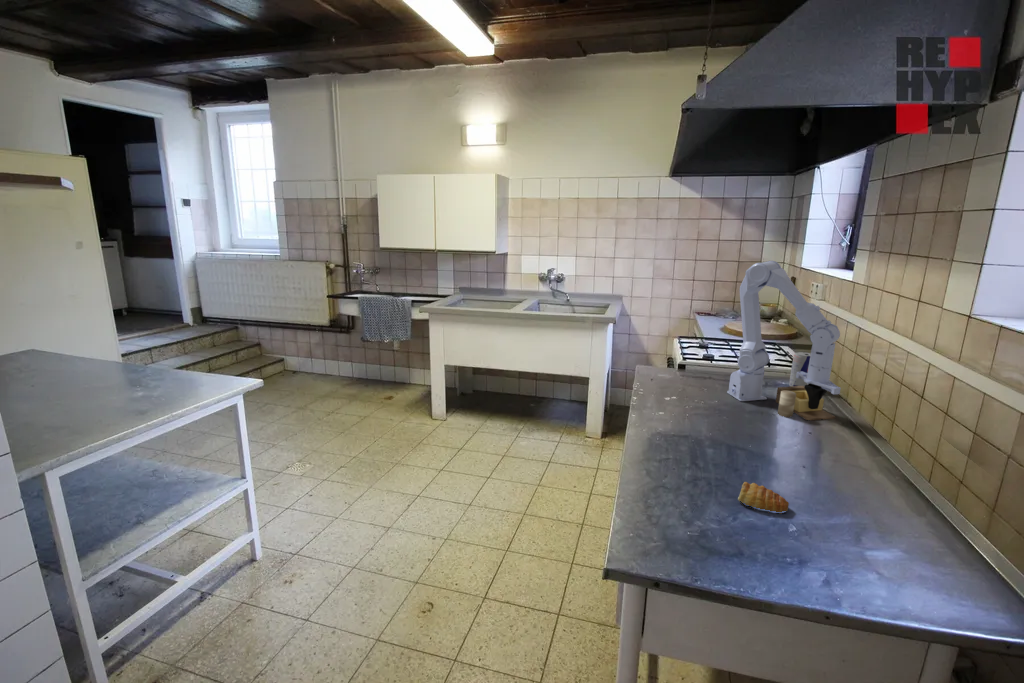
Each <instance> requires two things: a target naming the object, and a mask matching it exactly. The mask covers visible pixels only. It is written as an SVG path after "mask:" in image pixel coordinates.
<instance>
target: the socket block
mask: <svg viewBox="0 0 1024 683" xmlns="http://www.w3.org/2000/svg"><path fill="white" fill-rule="evenodd" d="M792 392H795V393H796V399H795V405H794V410H796V411H798V412H805V411H818V410H823V408H824V403H825V399H824V398H823V397H822V398H821V399H820V402H819V406H818V408H817V409H810V408H809V407H808V403H809V398H808V394H807V392H806V390H796V391H792Z"/></svg>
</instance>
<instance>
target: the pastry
mask: <svg viewBox="0 0 1024 683" xmlns="http://www.w3.org/2000/svg"><path fill="white" fill-rule="evenodd" d="M737 501H738V502H740V501H741V502H742V503H745V504H746V505H749V506H752V507H756V508H760V509H765V510H770V511H776V512H782V511H787V512H788V511H789V505H790V503H789V502H788V500H786V498H785V497H783V496H781V495H780V494H779V493H777V492H774V491H773V489H768V488H767V487H765V486H764V485H758V484H757V483H755V482H752V483H749V482H747V481H744V482H743V483H742V484H741V489H740V492H739V495H738V497H737ZM741 502H740V503H741ZM742 503H741V504H742Z"/></svg>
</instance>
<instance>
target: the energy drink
mask: <svg viewBox="0 0 1024 683" xmlns="http://www.w3.org/2000/svg"><path fill="white" fill-rule="evenodd" d="M810 355H811V352H805V351H795V352H794V353H793V357H792V365H791V370H790V376H789V384H788V385H789V387H791V386H805V385H808V383H806V382H804V380H802V379H798V378H796V374H797V372H801V371H803V372H805V373H808V367H809V361H810Z"/></svg>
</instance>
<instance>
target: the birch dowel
mask: <svg viewBox="0 0 1024 683" xmlns="http://www.w3.org/2000/svg"><path fill="white" fill-rule="evenodd" d="M795 399H796V393H795V392H792V391H787V390H783V391H781V395H780V401H779V404H778V409H777V415H778V414H779V415H778V416H780V417H783V416H784V418H792V417H793V415H794V412H793V411H794V405H795Z"/></svg>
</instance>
